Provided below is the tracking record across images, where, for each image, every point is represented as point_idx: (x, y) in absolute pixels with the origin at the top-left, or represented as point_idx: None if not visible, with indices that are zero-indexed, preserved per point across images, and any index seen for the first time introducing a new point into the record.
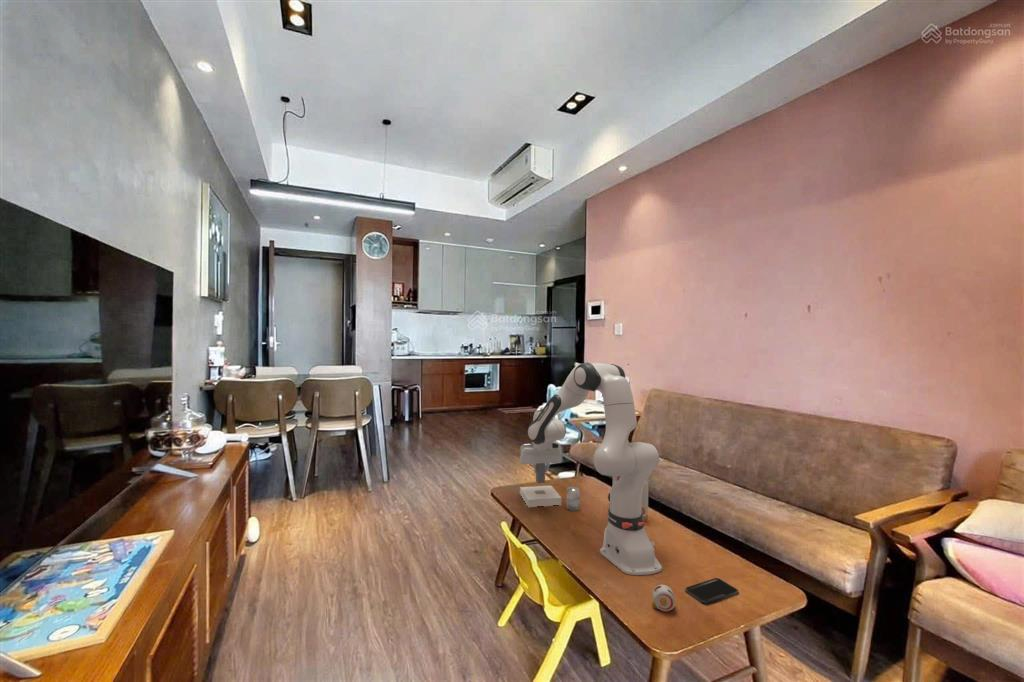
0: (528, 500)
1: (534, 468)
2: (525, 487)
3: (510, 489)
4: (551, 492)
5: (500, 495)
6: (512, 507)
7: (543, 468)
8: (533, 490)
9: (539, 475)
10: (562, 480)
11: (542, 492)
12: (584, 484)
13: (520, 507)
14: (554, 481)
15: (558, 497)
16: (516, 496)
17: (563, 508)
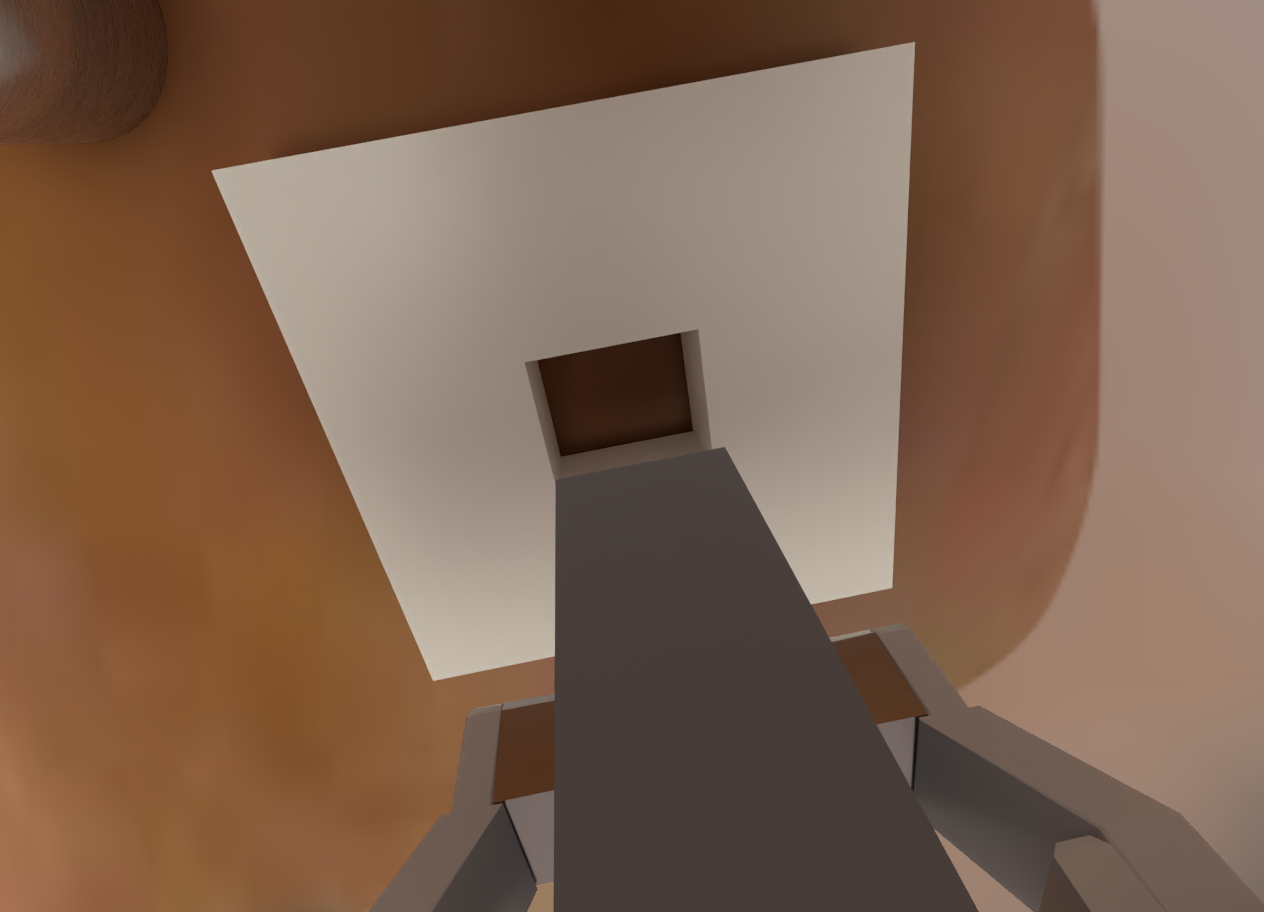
0: (899, 45)
1: (1004, 731)
2: (817, 585)
3: None
4: (429, 429)
5: (1085, 484)
6: (1083, 63)
7: (631, 770)
8: None
9: (730, 555)
10: (313, 899)
11: None
12: (30, 851)
13: (964, 63)
14: None
15: (283, 187)
16: (906, 468)
17: (225, 10)
